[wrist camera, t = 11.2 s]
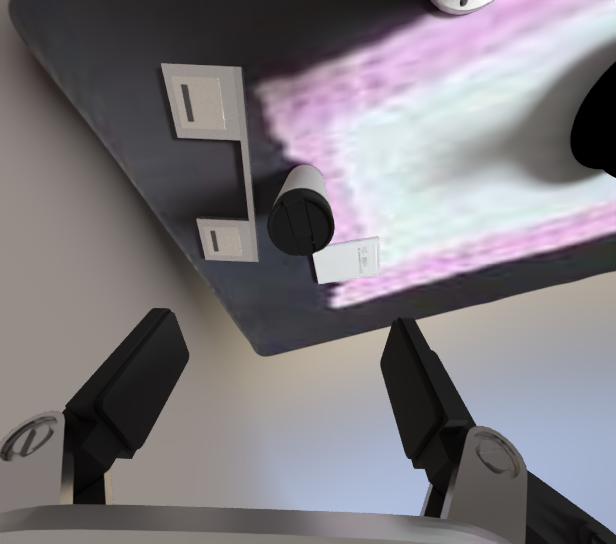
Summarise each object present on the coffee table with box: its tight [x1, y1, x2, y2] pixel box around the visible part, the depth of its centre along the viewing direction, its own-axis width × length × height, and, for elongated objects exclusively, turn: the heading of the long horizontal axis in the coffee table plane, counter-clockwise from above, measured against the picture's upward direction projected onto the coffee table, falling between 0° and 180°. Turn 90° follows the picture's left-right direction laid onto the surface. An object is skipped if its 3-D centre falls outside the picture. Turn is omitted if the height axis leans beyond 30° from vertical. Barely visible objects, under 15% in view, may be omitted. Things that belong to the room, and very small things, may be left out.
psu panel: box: [161, 63, 260, 262], centre depth 36 cm, size 28×10×2 cm, turn 178°
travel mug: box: [267, 164, 335, 256], centre depth 29 cm, size 6×7×20 cm
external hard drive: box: [313, 236, 380, 284], centre depth 45 cm, size 2×8×12 cm
